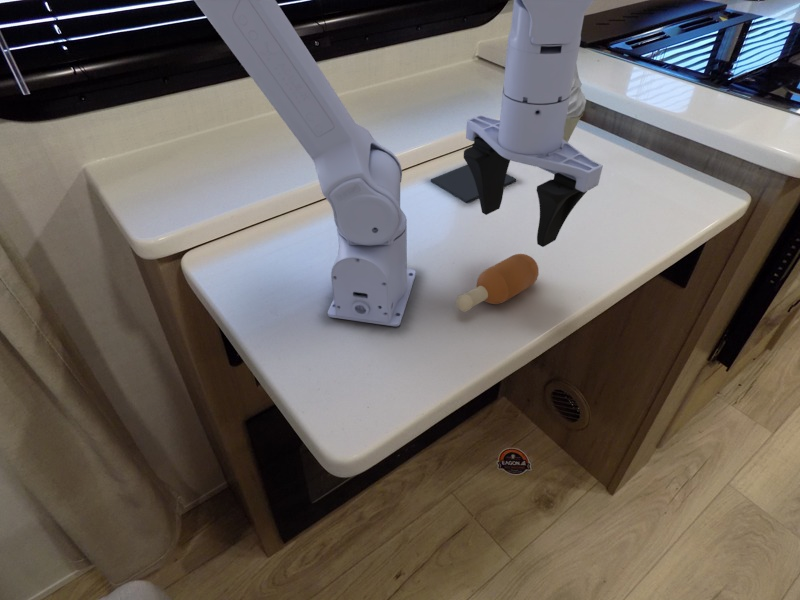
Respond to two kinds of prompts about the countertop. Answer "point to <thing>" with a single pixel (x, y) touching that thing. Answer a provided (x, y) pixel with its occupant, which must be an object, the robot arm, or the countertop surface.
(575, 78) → the ice cream cone
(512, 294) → the drumstick
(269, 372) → the countertop surface
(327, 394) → the countertop surface
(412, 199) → the countertop surface
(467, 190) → the mat
